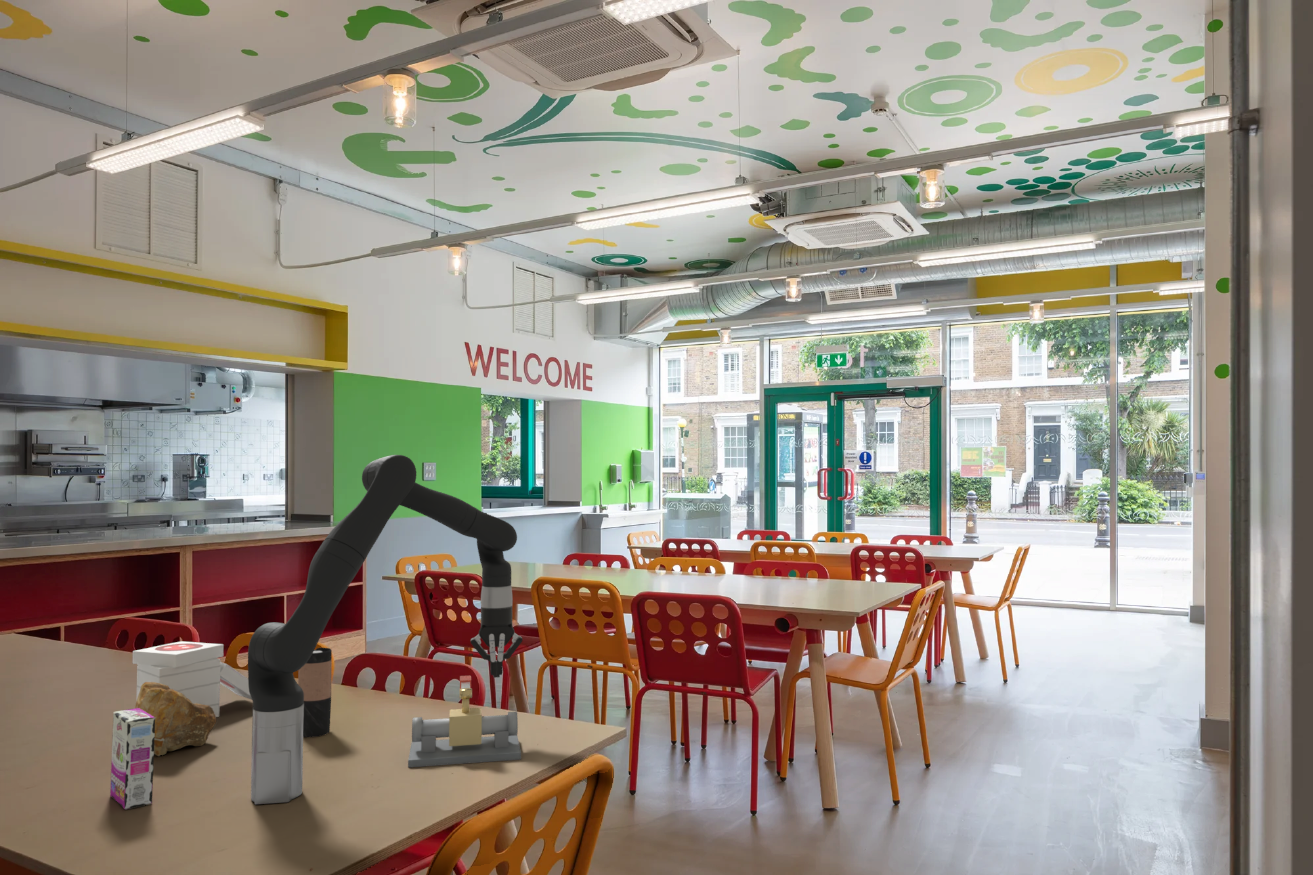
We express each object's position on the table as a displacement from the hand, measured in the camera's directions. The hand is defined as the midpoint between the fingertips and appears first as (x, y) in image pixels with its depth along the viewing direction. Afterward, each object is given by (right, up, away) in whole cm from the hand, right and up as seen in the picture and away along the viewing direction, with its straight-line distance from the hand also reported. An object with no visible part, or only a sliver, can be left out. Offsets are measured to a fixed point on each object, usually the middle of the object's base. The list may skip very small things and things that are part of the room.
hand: (496, 676), depth 211 cm
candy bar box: (-63, -12, -42) cm, 77 cm away
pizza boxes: (-83, -16, +22) cm, 87 cm away
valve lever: (-6, -2, -7) cm, 9 cm away
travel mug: (-45, -15, +3) cm, 47 cm away
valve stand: (-5, -14, -14) cm, 20 cm away
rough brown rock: (-73, -14, -8) cm, 75 cm away
